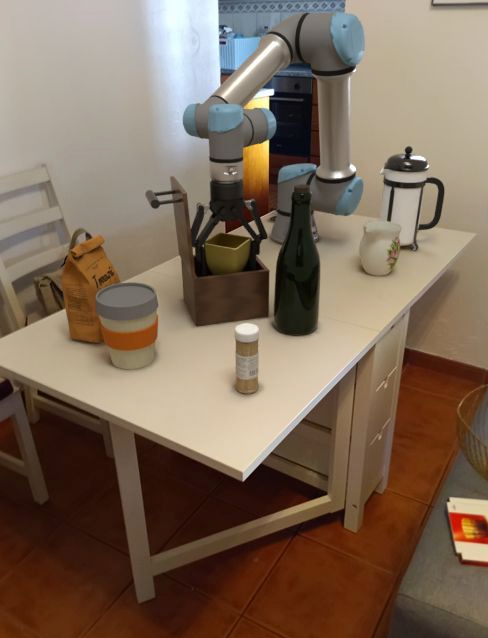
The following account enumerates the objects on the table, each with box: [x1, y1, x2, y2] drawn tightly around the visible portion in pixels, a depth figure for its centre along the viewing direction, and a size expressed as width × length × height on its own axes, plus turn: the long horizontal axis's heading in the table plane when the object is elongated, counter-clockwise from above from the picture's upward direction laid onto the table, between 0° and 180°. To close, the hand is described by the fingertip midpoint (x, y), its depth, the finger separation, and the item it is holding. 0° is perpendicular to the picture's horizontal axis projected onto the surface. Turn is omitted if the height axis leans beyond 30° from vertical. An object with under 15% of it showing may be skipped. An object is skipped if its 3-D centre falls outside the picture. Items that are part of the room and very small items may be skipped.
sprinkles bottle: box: [234, 322, 260, 395], centre depth 113 cm, size 5×5×13 cm
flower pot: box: [203, 232, 252, 275], centre depth 141 cm, size 9×9×9 cm
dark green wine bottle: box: [273, 184, 321, 336], centre depth 131 cm, size 10×10×33 cm
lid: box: [144, 175, 196, 277], centre depth 133 cm, size 19×15×7 cm
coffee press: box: [378, 145, 446, 251], centre depth 180 cm, size 17×16×30 cm
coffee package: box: [61, 234, 121, 343], centre depth 131 cm, size 10×12×22 cm
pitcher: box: [359, 220, 401, 277], centre depth 166 cm, size 11×18×14 cm, turn 143°
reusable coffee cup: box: [96, 281, 160, 370], centre depth 123 cm, size 13×13×15 cm
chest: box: [180, 252, 271, 327], centre depth 144 cm, size 18×15×12 cm
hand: (228, 270), depth 143 cm, fingers closed on flower pot, 12 cm apart
